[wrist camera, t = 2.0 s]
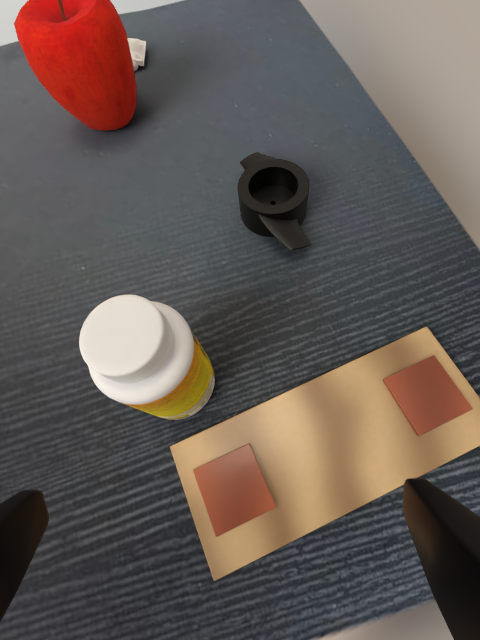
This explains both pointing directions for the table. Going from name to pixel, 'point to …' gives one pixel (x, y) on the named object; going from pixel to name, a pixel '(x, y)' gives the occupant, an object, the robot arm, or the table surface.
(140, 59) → the toy car
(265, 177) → the black hollow round piece
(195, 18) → the table surface
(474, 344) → the table surface
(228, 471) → the wood board
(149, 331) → the supplement bottle
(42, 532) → the robot arm
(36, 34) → the apple
